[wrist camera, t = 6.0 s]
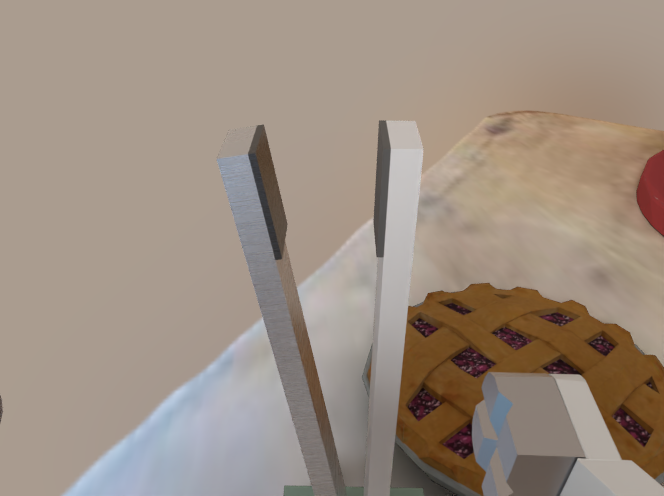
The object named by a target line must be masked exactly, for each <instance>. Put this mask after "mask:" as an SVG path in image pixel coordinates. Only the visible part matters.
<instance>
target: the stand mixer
mask: <svg viewBox="0 0 664 496" xmlns="http://www.w3.org/2000/svg"><path fill="white" fill-rule="evenodd" d="M637 202H638V204H639V207H640V209H641V211H642V213H643V215H644V216H645V217H646V218H647V220H648V221H649V222H650V224H651V225H652V226H653V227H654V228H655V229H656V230H658V231H659V232H660V233H661V234H662V235H663V236H664V150H663V151H661V152H659V153H658V154H656V155H654V156H653V157H651V158H649V160H648V161H647V164H646V166H645V169H644V171H643V173H642V176H641V179H640V182H639V185H638V189H637Z"/></svg>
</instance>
